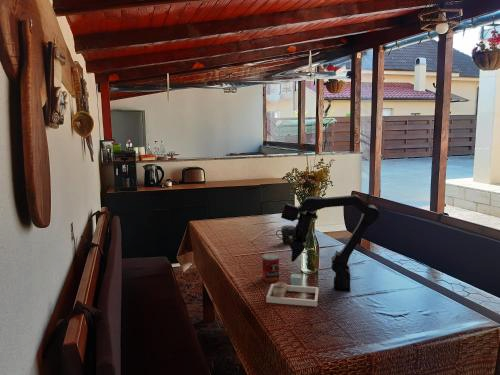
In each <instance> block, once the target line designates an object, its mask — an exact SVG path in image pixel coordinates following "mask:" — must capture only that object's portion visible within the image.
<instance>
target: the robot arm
mask: <svg viewBox="0 0 500 375" xmlns="http://www.w3.org/2000/svg"><path fill="white" fill-rule="evenodd" d="M348 206H349V207H350V206H354V207H355V208H356V209H357V210H359V211H360V212H361V217H360V219H359V222H358V224H357V225H356V227H355V229H354V231H352V233H351V235H350V236H349V238H348V240H347V242H346V243H345V244H344V246H343V247H342V249H341V250H340V251H338V250H336V251H335V252H334V255H332V256H331V270H332V271H333V272H334V273H335V274H334V276H333V288H334V291H337V292H338V291H339V292H351V267H350V266H349V265H348V263H349V259H350V258H351V257H350V256H352V253H354V252H353V251H354V250H355V249H356V247H357V246H358V245H359V244H358V243H360V241H361V239H362V237H364V235H365V233H366V232H367V230H368V228H370V227H371V226H372V225H373V224H374V223H375V222H376V221H378V219H379V217H380V213H379V210H378V208H377V206H376V205H373V204H369V203H368V202H367V201H365V200H364V199H363V198H361V197H360V196H359V195H357V194H350V195H342V196H341V195H340V196H332V197H320V196H314V195H313V196H312V195H311V196H310V195H309V196H307V197H305V199H304V201H303V202H302V203H301V204H299V205H298V206H296V205H292V204H290V203H287V202H286V203H285V204H284V208H283V210H282V213H281V216H280V218H281V219H283V220H287V221H290V222H295V221H297V223H296V225H294V226H295V227H283V228H282V232H281V238H282V237H285V236H292V238H293V239H292V240H291V242H290V245H289V248H290V249H291V262H292V263H293V262H295V261H296V260H297V259H298V258H299V257H300V255H301V254H302V253H303V252H304V250H305V248H306V242H307V240H308V235H309V233H310V229H311V226H312V223H313V219H316V220H317V219H318V218H319V216H318V214H317V212H316V211H319V210H322V209H325V208H334V207H335V208H338V207H348ZM297 219H298V220H297Z"/></svg>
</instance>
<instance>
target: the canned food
mask: <svg viewBox="0 0 500 375" xmlns="http://www.w3.org/2000/svg"><path fill="white" fill-rule="evenodd" d="M262 279H263V281H265V282H268V283H275V282H276V283H277V281H279V279H280V255H279V254H276V253H265V254H263V255H262Z"/></svg>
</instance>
